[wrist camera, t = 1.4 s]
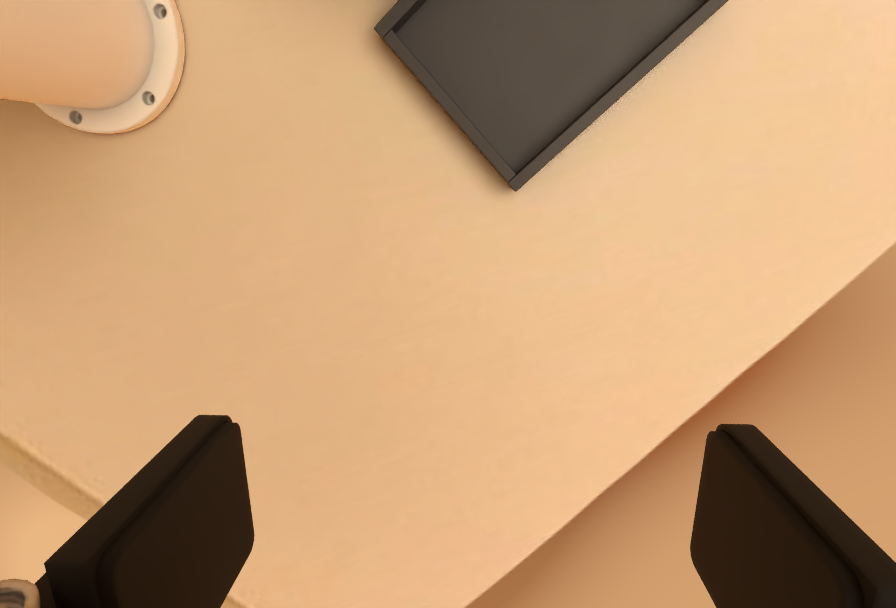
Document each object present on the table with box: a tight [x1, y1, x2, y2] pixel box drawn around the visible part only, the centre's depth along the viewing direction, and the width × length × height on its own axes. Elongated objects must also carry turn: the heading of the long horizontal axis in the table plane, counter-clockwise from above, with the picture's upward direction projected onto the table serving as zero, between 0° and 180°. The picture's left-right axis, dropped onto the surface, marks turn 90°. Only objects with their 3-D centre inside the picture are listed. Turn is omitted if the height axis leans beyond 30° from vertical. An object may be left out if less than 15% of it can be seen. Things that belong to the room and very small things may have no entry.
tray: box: [374, 0, 728, 191], centre depth 33 cm, size 14×18×2 cm
